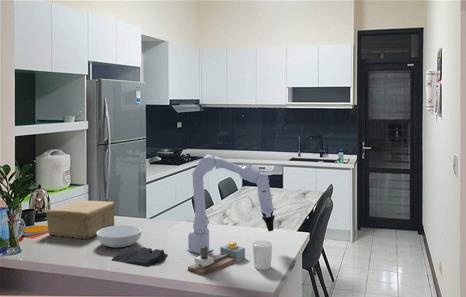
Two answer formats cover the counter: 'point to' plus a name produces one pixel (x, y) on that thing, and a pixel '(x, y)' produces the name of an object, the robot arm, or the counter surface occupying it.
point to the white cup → (262, 254)
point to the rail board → (213, 264)
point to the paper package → (80, 218)
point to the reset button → (232, 245)
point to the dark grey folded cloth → (140, 256)
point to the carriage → (204, 257)
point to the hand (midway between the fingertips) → (270, 228)
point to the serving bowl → (118, 235)
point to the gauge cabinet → (233, 252)
